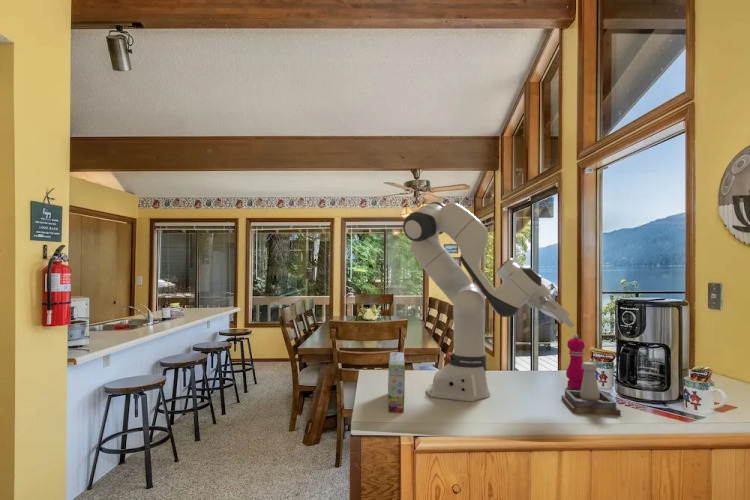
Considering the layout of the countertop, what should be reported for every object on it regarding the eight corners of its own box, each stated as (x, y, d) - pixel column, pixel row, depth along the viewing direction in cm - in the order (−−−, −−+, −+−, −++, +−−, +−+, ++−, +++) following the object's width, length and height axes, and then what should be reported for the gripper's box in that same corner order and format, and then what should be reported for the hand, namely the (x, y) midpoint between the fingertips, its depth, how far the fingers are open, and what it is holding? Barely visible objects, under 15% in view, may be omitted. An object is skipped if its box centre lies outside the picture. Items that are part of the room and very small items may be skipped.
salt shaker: (602, 406, 136) (601, 365, 136) (583, 405, 137) (582, 364, 137) (596, 400, 141) (595, 361, 142) (577, 399, 142) (577, 360, 143)
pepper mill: (563, 386, 163) (562, 333, 164) (571, 382, 168) (570, 331, 169) (582, 390, 158) (581, 336, 159) (590, 386, 163) (589, 334, 163)
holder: (572, 412, 134) (572, 401, 134) (561, 399, 147) (561, 389, 147) (620, 415, 132) (620, 403, 132) (605, 401, 145) (604, 391, 145)
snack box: (405, 413, 134) (405, 365, 134) (387, 413, 134) (387, 364, 135) (404, 393, 155) (404, 351, 155) (388, 392, 155) (388, 351, 156)
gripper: (552, 291, 137) (585, 322, 136) (536, 287, 158) (564, 313, 156) (538, 305, 138) (571, 336, 136) (524, 299, 158) (552, 326, 157)
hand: (567, 324), depth 146 cm, fingers open, 8 cm apart
